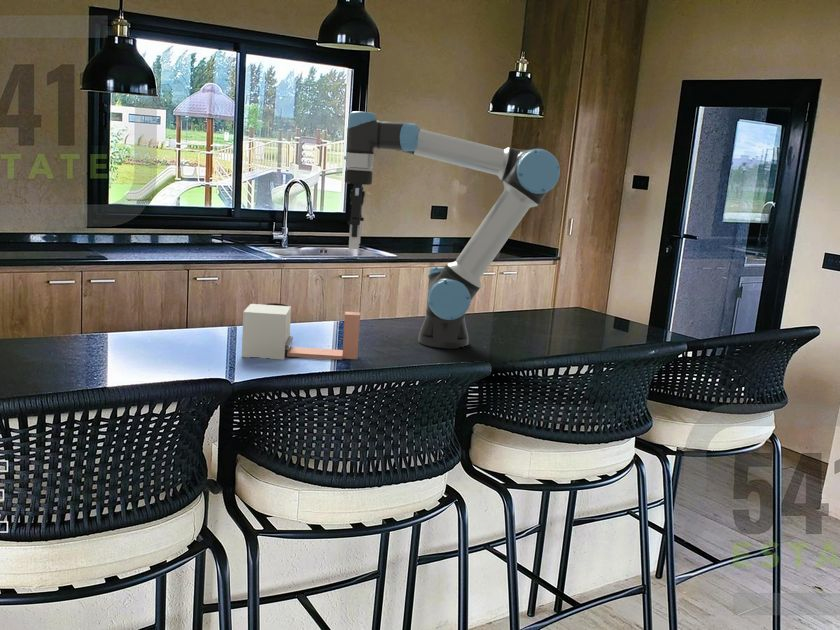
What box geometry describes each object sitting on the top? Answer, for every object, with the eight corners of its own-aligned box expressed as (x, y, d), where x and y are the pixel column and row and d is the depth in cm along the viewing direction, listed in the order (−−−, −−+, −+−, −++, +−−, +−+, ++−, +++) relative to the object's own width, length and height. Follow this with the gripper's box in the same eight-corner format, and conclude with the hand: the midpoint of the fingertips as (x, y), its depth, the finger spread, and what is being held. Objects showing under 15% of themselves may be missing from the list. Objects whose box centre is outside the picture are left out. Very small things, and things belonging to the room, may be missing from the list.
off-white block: (292, 349, 233) (294, 306, 230) (287, 359, 221) (289, 314, 219) (248, 346, 232) (250, 303, 230) (241, 357, 220) (243, 311, 218)
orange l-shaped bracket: (357, 354, 231) (360, 311, 229) (357, 360, 224) (359, 316, 222) (289, 350, 230) (292, 307, 228) (287, 356, 223) (289, 311, 221)
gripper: (347, 167, 244) (343, 240, 248) (343, 169, 220) (338, 250, 223) (373, 169, 244) (368, 242, 248) (372, 171, 220) (366, 252, 224)
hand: (354, 246), depth 236 cm, fingers open, 13 cm apart
